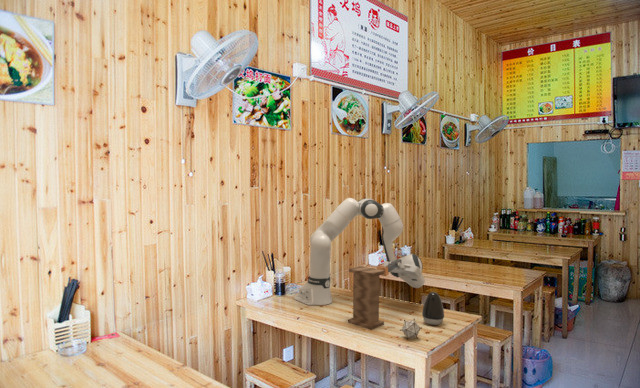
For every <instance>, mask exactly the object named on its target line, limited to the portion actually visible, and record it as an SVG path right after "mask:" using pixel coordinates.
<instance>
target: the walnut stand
mask: <svg viewBox="0 0 640 388" xmlns="http://www.w3.org/2000/svg"><path fill="white" fill-rule="evenodd" d="M348 272H349V273H353V287H352V288H353V292H352V293H353V294H352V296H353V297H352V302H353V305H352V317H351V318H349V319H347V323H348V324H350V325H353V326H357V327H361V328H363V329H367V330H371V331H373V330H375V329H378V328H380V327H382V326H384V325H385V321H384V320H379V319H380V317H379V315H380V276H382V274H384V270H379V269H377V268H372V267H367V266H361V265H360V266H355V267H351V268H349V269H348Z"/></svg>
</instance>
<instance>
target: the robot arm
mask: <svg viewBox="0 0 640 388" xmlns="http://www.w3.org/2000/svg"><path fill="white" fill-rule="evenodd" d="M357 216H361V217H363V218H365V219H367V220H374V219H377V220H378V221H379V222H380V225H381V226H382V229H383V234H382V235H381V241H382V246H383V250H384V253H385V257H386V260H385V261H384V262H383V264H382V266H387V265H389V264H390V263H392V262H393V261H395V260H397V259H401V261H402V264H401V263H400V262H397V264H396V265H397V266H398V267H396V268H395V269H393V270H392V271H390V272H389V273H390V275H392V276H393V277H395V278H400V279H401V280H403V282H405V283H406V284H408V285H409V286H410V287H412V288H413V289H414V288H415V289H419V288H422V287H423V286H424V285H425V282H426V280H425V277H424V275H423V268H424V266H423V261H422V260H421V258H420V257H419V256H418V255H417V254H416V253H411V254H407V255H405V256H402V257H400V258H397V257H396V255H395V252H394V249H393V242H394V241H395V240H396V239H397V238H398V237H399V236H400V235H402V233H403V231H404V224H403V221H402V218H401V217H400V214H399V213H398V211H397V209H396V208H395V206H394V205H393V204H392V203H391V202H384V203H382V204H381V203H379V202H378V201H376V200H375V199H373V198H366V197H365V198H361V199H359V200H356V198H352V197H347V198H345V199H344V200H343V201H342V202H341V203H340V204H339V205H337V207H336V208H335V209H334V211H332V212H331V214H330V215H329V216H328V217H327V218H326V219H325V220H324V221H323V223H322V224H320V225H319V226H318V227H317V228H316V230H314V231H313V232H312V233H311V236H310V238H309V243H310V259H309V276H306V277H305V279H306V280H307V281H306V283H305V284H303V285H302V286H300V287H299V289H298V294H297V295H295V296H294V297H293V299H294V300H295V301H298V302H300V303H303V304H305V305H307V306H325V305H330V304H332V303H333V299H332V293H331V276H330V275H331V274H330V273H331V271H330V269H331V265H330V264H331V252H332V242H333V241H334V240H335V239H336V238H337V237H339V236H340V234H342V233H343V232H344V230H345V229H346V228H347V227H348V226H349V225H350V223H352V221H353V220H354V218H357Z"/></svg>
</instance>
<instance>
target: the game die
mask: <svg viewBox="0 0 640 388" xmlns="http://www.w3.org/2000/svg"><path fill="white" fill-rule="evenodd" d="M403 321H404V322H403V325H402V327H401V329H399V331H401V332H402V333H403V334H404V336H406V341H408V340H409V339H412V338H416V339H418V335H419V334H420V330H421V329H423V327H422V326H421V327H420V325H418V323H417V322H416V319H415V317H414V318H413V319H411V320H405V319H404V320H403Z"/></svg>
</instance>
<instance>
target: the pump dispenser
mask: <svg viewBox="0 0 640 388" xmlns="http://www.w3.org/2000/svg"><path fill="white" fill-rule="evenodd" d="M443 305H444V304H443V302H442V298H441V297H440V294H438V293H437V292H435V291H431V292H429V293H428V295H427V296H426V298H425V301H424V303H423V305H422V307H423V308H422V312H421V315H422V318H423V320H424V322H425V323H426V324H428V325H430V326H438V325H440V324H441V323H442V322H443V321H444V318H445V312H444V306H443Z"/></svg>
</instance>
